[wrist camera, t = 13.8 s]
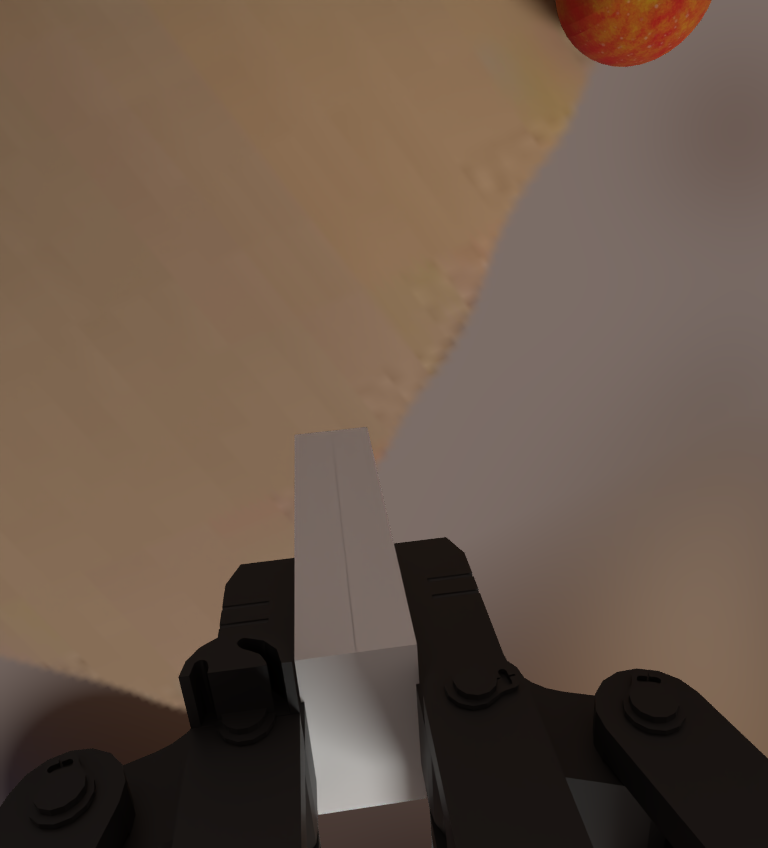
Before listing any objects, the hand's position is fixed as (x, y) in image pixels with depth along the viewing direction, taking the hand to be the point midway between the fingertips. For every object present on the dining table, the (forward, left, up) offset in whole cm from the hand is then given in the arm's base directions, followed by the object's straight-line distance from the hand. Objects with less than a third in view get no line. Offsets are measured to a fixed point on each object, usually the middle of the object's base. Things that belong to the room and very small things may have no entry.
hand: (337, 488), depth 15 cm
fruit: (+16, +12, -27) cm, 33 cm away
